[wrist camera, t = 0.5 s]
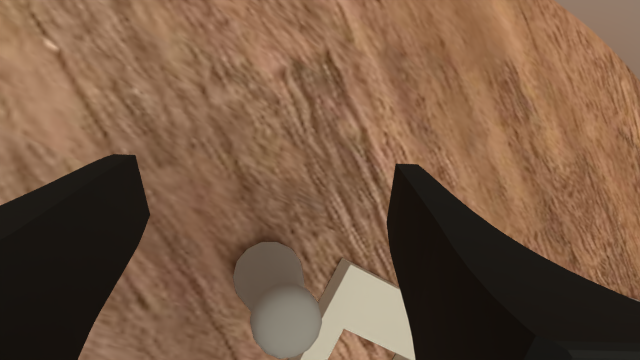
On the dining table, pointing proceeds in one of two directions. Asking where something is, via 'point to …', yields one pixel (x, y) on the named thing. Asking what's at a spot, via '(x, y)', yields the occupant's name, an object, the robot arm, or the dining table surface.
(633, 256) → the dining table surface
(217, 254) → the dining table surface
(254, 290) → the salt shaker
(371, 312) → the socket block
